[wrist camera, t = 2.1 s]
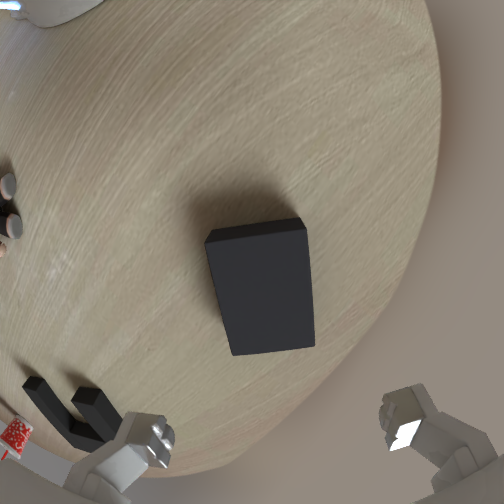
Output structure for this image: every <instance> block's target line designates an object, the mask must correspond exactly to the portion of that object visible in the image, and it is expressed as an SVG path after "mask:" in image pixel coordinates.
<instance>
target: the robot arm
mask: <svg viewBox="0 0 504 504" xmlns="http://www.w3.org/2000/svg"><path fill="white" fill-rule="evenodd" d="M102 1H104V0H0V9H9V10H11V14H10V15H11V17H12V18H14V19H16V20H21V19H26V18H27V19H28V20H29V21H30V22H32V23H33V24H34V25H36V26H38V27H53V26H57V25H60V24H63V23H65V22H68V21H70V20H72V19H74V18H76V17H78V16H80V15H81V14H83V13H85V12H87V11H88V10H90V9H92V8H93V7H95V6H96V5H98V4H99V3H101V2H102ZM382 401H383V405H382V406H381V407H380V411H379V420H380V425H381V428H382V429H383V430H384V431H386V432H387V434H386V437H385V440H386V443H387V445H388V448H389V451H391V450H395V449H398V448H401V447H404V446H408V445H410V446H411V447H412V448H413V449H414V450H416V451H417V452H418V453H420V454H421V455H422V456H424V457H425V458H426V459H428V460H429V461H430V462H432V463H433V464H435V465H436V466H437V467H439V468H440V470H439V471H438V472H437V473H436V474H435V475H434V477H433V478H432V480H431V483H432V486H433V489H434V494H432V495H430V496H428V497H425V498H423V499H420V500H418V501H415V502H413V503H410V504H504V454H502V455H501V456H500V457H498V455H497V453H496V451H495V449H494V447H493V446H492V444H491V442H490V440H489V438H488V436H487V434H486V433H484V432H482V431H480V430H478V429H476V428H474V427H472V426H470V425H468V424H466V423H464V422H462V421H460V420H458V419H455V418H454V417H452V416H450V415H448V414H446V413H444V412H438V410H437V409H436V407H435V405H434V403H433V401H432V399H431V398H430V396H429V394H428V392H427V391H426V389H425V387H424V385H423V384H421V383H419V384H416V385H413V386H410V387H406V388H403V389H399V390H396V391H393V392H390V393H386V394H384V395H383V398H382ZM166 422H167V420H166V418H165V417H164V415H155V414H146V413H139V412H131V411H129V412H127V413H126V414H125V417H124V419H123V421H122V423H121V425H120V427H119V429H118V432H117V434H116V436H115V438H114V441H113V440H110V441H109V442H107V443H106V444H104V445H103V446H101V447H100V448H98V449H97V450H95V451H94V452H92V453H91V454H89V455H88V456H86V457H85V458H83V459H82V460H80V461H79V462H77V463H75V464H74V465H73V466H72V468H71V470H70V472H69V474H68V477H67V479H66V481H65V483H64V485H63V487H60V486H58V485H56V484H54V483H52V482H50V481H48V480H47V479H45V478H43V477H41V476H40V475H38V474H36V473H34V472H33V471H31V470H29V469H28V468H26V467H25V466H23V465H21V464H20V463H18V462H17V461H15V460H13V459H11V458H7V459H3V460H1V461H0V504H131V501H130V499H129V498H128V497H126V496H125V495H123V494H122V492H123V491H124V490H125V489H126V488H127V487H128V486H129V485H130V484H132V483H133V482H134V481H135V480H136V479H137V478H138V477H139V476H140V475H141V474H142V473H143V472H144V471H145V470H146V469H147V468H148V466H152V467H159V468H168V464H169V461H170V457H171V455H170V453H169V450H170V449H172V448H173V446H174V442H175V434H174V431H173V429H172V427H171V426H169V425H168V424H166Z"/></svg>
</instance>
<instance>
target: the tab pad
mask: <svg viewBox="0 0 504 504" xmlns="http://www.w3.org/2000/svg"><path fill="white" fill-rule="evenodd" d="M204 244H205V249H206V253H207V257H208V262H209V266H210V270H211V274H212V279H213V283H214V287H215V291H216V295H217V299H218V303H219V307H220V311H221V315H222V319H223V323H224V327H225V330H226V334H227V338H228V342H229V345H230V349H231V353H232V355H233V356H238V355H249V354H260V353H269V352H277V351H285V350H293V349H300V348H307V347H314V346H315V331H314V312H313V296H312V282H311V269H310V257H309V247H308V236H307V229H306V227H305V225H304V223H303V222H302V220H301V218H300V217H298V218H291V219H284V220H276V221H269V222H262V223H255V224H249V225H242V226H235V227H229V228H222V229H216V230H212V231H211V233H210V234H209V236H208V238H207V239H206V241H205V243H204Z"/></svg>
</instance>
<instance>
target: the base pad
mask: <svg viewBox="0 0 504 504" xmlns="http://www.w3.org/2000/svg"><path fill="white" fill-rule="evenodd" d="M22 388H23V389H24V390H25V392H26V393H27V394H28V396H29V397H30V398H31V400H32V401H33V402H34V404H35V405H36V406H37V407H38V409H39V410H40V411H41V412H42V413H43V415H44V416H45V417H46V418H47V419H48V420H49V422H50V423H51V424H52V425H53V426H54V427H55V428H56V429H57V431H58V432H59V433H60V434H61V435H62V436H63V437H64V438H65V439H66V440H67V441H68V442H69V443H70V444H71V445H72V446H73V447H74V448H77V449H80V450H83V451H86V452H89V453H92V452H94V451H95V450H97V449H98V448H100V447H101V446H103V445H104V444H106V443H107V442H109V441H110V440H113V441H114V438H115V436H116V434H117V432H118V429H119V427H120V425H121V423H122V421H123V419H122V418H121V417H120V415H119V414H118V413H117V411H116V410H115V409H114V407H113V406H112V405H111V403H110V402H109V400H108V399H107V397H106V396H105V394H104V393H103V392H102V390H99V389H92V388H86V387H79V388H78V390H77V391H76V393H75V395H74V396H73V398H72V400H71V402H72V403H73V404H74V406H75V407H76V408H77V409H78V411H79V412H80V413H81V414H82V416H83V417H84V418H85V419H86V421H87V422H88V423H89V424H86V423H82V422H78V421H76V420H75V419H74V418H73V417H72V416H71V414H70V413H69V412H68V411H67V410H66V408H65V407H64V406H63V404H62V403H61V402H60V401H59V399H58V398H57V397H56V395H55V394H54V393H53V391H52V390H51V388H50V387H49V386H48V384H47V383H46V381H45V380H44V379H41V378H37V377H33V376H30V377H29V378H28V379H27V381H26V382H25V383H24V385H23V386H22Z"/></svg>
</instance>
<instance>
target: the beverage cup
mask: <svg viewBox="0 0 504 504" xmlns="http://www.w3.org/2000/svg"><path fill="white" fill-rule="evenodd" d="M32 430H33V427H32V426H31V425H30V424H29V423H28V422H27V421H26V420H25V419H24V418H22V417H21V416H20V415H16V416H15V418H14V419H13V420H12V421H11V423H10V424H9V425H8V427H7V428H6V429H5V431H4V432H3V433H2V435H1V436H0V444H1V445H2V446H3V447H4V448H5V449H6V452H5V454H4V455H3V457H2V459H1V460H3V459H4V458H5V456H6V455H7V453H8V452H9V453H11V454H12V455H13V456H15V457H16V458H18V459H19V460H20V458H21V453H22V451H23V449H24V447H25V445H26V443H27V441H28V439H29V436H30V434H31V432H32Z"/></svg>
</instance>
